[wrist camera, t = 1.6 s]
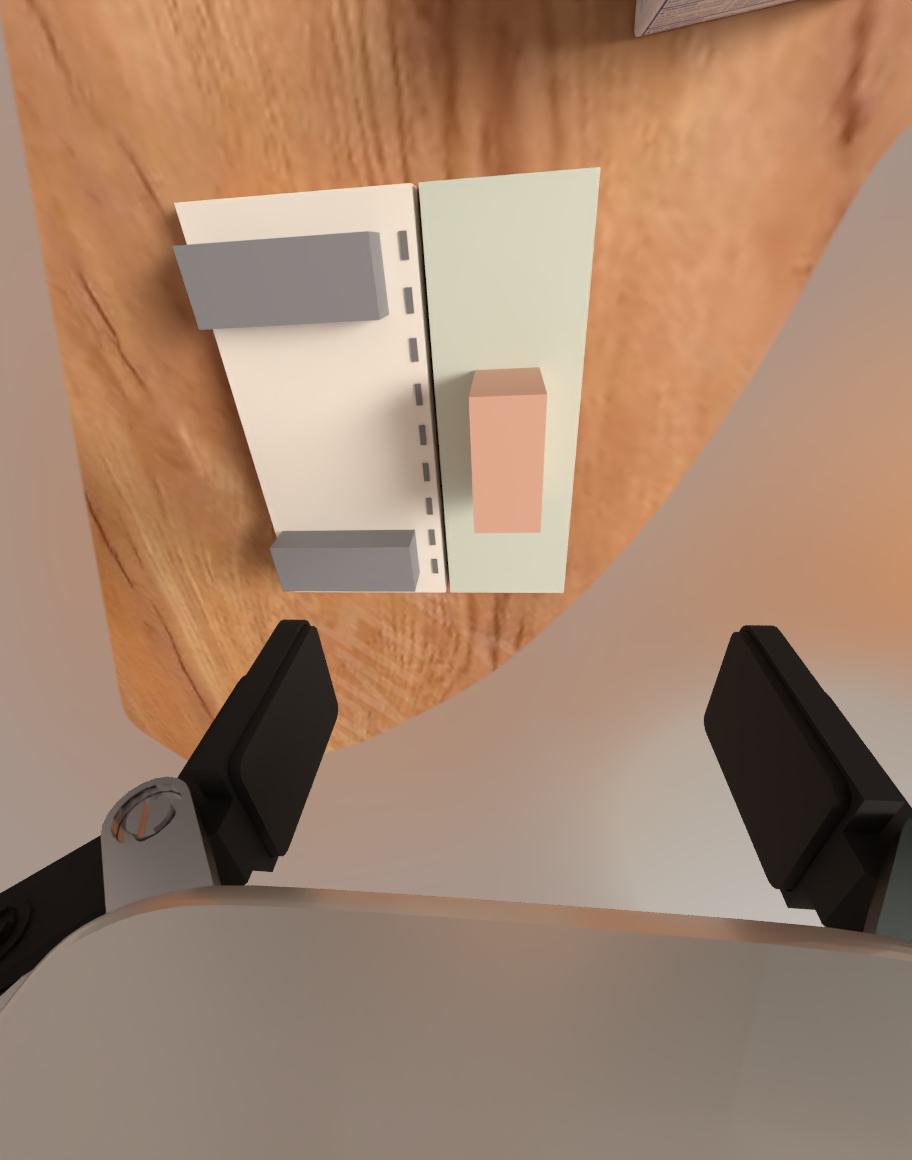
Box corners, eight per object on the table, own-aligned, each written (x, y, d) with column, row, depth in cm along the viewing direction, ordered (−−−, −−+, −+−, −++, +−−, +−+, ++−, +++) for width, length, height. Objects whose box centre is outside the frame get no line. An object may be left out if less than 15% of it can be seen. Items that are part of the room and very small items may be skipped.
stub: (423, 186, 20) (394, 164, 15) (594, 172, 19) (628, 144, 14) (452, 578, 31) (442, 646, 26) (561, 578, 31) (573, 648, 25)
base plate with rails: (193, 205, 21) (144, 198, 18) (416, 186, 20) (402, 176, 17) (301, 578, 32) (281, 610, 30) (448, 578, 32) (442, 612, 29)
